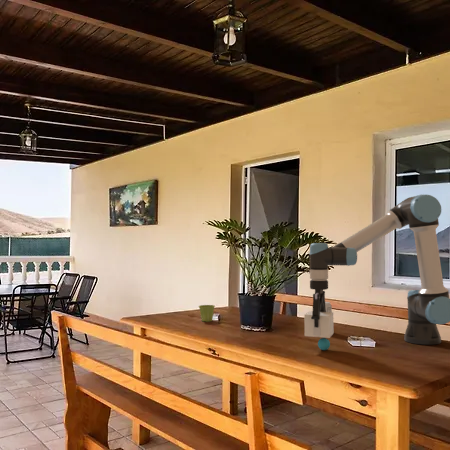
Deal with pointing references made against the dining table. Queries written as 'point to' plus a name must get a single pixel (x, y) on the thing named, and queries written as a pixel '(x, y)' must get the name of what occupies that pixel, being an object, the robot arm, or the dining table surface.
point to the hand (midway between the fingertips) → (319, 332)
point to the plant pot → (206, 312)
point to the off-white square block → (325, 324)
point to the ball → (323, 344)
